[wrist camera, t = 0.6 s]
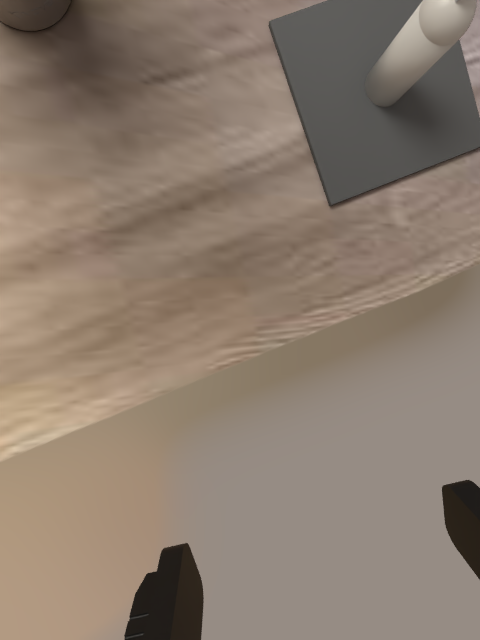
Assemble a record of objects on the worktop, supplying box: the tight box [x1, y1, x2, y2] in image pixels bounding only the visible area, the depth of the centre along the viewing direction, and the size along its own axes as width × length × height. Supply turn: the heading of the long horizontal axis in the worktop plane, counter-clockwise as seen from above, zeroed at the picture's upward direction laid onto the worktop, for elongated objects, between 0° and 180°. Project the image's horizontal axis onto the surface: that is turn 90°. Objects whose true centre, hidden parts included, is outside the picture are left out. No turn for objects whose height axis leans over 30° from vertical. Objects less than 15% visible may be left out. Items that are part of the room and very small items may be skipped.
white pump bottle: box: [365, 0, 477, 107], centre depth 29 cm, size 4×4×12 cm
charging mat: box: [269, 0, 480, 206], centre depth 35 cm, size 20×20×1 cm
